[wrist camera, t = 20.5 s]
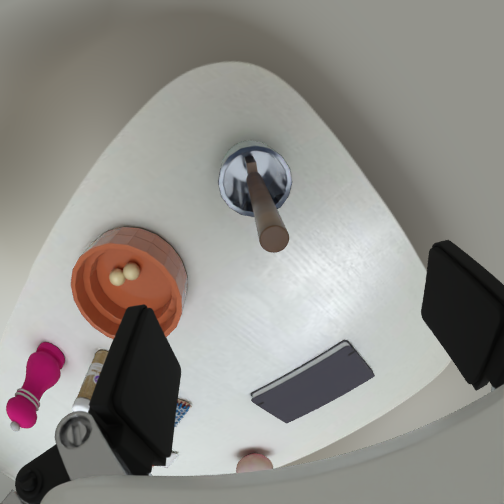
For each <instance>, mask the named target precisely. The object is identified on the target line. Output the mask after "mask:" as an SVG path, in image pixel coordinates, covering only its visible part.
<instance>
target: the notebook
mask: <svg viewBox="0 0 504 504" xmlns="http://www.w3.org/2000/svg"><path fill="white" fill-rule="evenodd" d="M374 376H375V375H374V373H373V371H372V370H371V369H370V367H369V366H368V365H367V364H366V362H365V361H364V360H363V359H362V357H361V356H360V355H359V354H358V353H357V351H356V350H355V349H354V348H353V346H352V345H351V344H350V343H349V342H348V341H347V340H345V341H342V342H340V343H339V344H337V345H336V346H334V347H332V348H331V349H329V350H328V351H326V352H324V353H323V354H321V355H319V356H318V357H316V358H314V359H313V360H311V361H309V362H308V363H306V364H304V365H302V366H301V367H299V368H297V369H296V370H294V371H292V372H290V373H288V374H287V375H285V376H283V377H281V378H279V379H277V380H276V381H274V382H272V383H270V384H268V385H266V386H264V387H262V388H260V389H259V390H257V391H255V392H253V393H251V396H252V399H251V401H252V402H253V403H255V404H256V405H258V406H259V407H261V408H262V409H264V410H266V411H267V412H269V413H270V414H272V415H274V416H275V417H277V418H278V419H280V420H282V421H283V422H285V423H289V422H291V421H293V420H295V419H297V418H299V417H301V416H303V415H306V414H308V413H310V412H312V411H314V410H316V409H318V408H320V407H321V406H323V405H325V404H327V403H329V402H331V401H333V400H335V399H336V398H338V397H340V396H342V395H344V394H346V393H347V392H349V391H351V390H353V389H354V388H356V387H358V386H359V385H361V384H363V383H364V382H366V381H368V380H369V379H371V378H373V377H374Z"/></svg>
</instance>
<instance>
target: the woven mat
mask: <svg viewBox="0 0 504 504" xmlns="http://www.w3.org/2000/svg"><path fill="white" fill-rule="evenodd" d="M186 405H187V406H186ZM191 407H192V406H191V405H190V404H189V403H188V402H185V401H183V400H180V399H178V401H177V408H176V417H175V425H174V427H177V426H176V425H178V424H177V423H180V420H181V419H182V418H183V417H184V416H185V413H187V412H188V411H189V410H188V409H189V408H191Z"/></svg>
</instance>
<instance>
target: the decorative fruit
mask: <svg viewBox="0 0 504 504" xmlns="http://www.w3.org/2000/svg"><path fill="white" fill-rule="evenodd" d="M269 469H273V465H272V463H271V461H270V460H269V459H268V458H267V457H265V456H264V455H261V454H257V453H252V454H250V455H247V456H245V457H243V458H242V459H241V460H240V461H239V462H238V464H237V468H236V472H237V473H245V472H253V471H261V470H269Z"/></svg>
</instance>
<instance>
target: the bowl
mask: <svg viewBox="0 0 504 504" xmlns="http://www.w3.org/2000/svg"><path fill="white" fill-rule="evenodd" d="M128 263H135V264H137V265H138V266H139V269H140V275H139V277H138V278H137V279H135V280H128V279H125V282H124V283H123V284H122V285H120V286H115V285H113V284H112V283H111V282H110V279H109V275H110V272H111V271H112V270H114V269H121V270H123V268H124V266H125V265H126V264H128ZM71 288H72V293H73V298H74V301H75V303H76V305H77V307H78V308H79V310H80V312H81V314H82V315H83V317H84V318H85V319H86V320H87V321H88V322H89V323H90V324H91V325H92V326H93V327H94V328H95V329H97V330H98V331H100V332H101V333H102V334H104V335H105V336H107V337H109V338H112V339H114V337H115V335H116V332H117V330H118V328H119V325H120V323H121V321H122V318H123V316H124V314H125V311H126V309H127V308H128V307H130V306H136V305H142V304H144V305H146V306H147V308H152V309H153V311H154V313H155V315H156V317H157V320H158V322H159V324H160V326H161V328H162V330H163V332H164V334H165V336H166V337H167V336H168V335H169V334H170V333H171V332H172V331H173V330H174V329H175V328H176V327H177V324H178V322H179V320H180V317H181V315H182V311H183V306H184V302H185V297H186V293H187V274H186V271H185V268H184V265H183V262H182V260H181V259H180V257H179V256H178V254H177V253H176V252H175V250H174V249H173V247H172V246H171V245H169V244H168V243H167V242H166V241H164V240H163V239H162V238H160V237H159V236H158V235H156V234H154V233H151V232H149V231H146V230H144V229H141V228H131V227H120V228H117V229H113V230H109V231H107V232H105V233H104V234H103V235H101V236H100V237H99V238H97V239H96V240H95V241H94V242H93V243H92V244H91V245H90V246H89V248H88V249H87V250H86V251H85V252H84V253H83V254H82V255H81V256H80V257H79V259H78V261H77V263H76V264H75V266H74V268H73V271H72V279H71Z"/></svg>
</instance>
